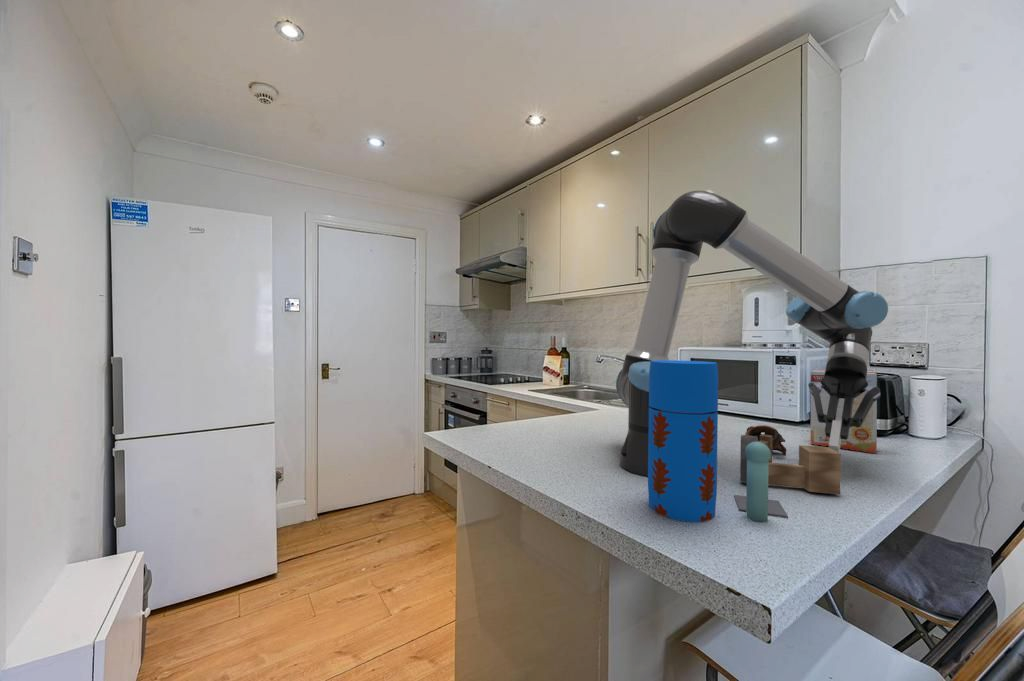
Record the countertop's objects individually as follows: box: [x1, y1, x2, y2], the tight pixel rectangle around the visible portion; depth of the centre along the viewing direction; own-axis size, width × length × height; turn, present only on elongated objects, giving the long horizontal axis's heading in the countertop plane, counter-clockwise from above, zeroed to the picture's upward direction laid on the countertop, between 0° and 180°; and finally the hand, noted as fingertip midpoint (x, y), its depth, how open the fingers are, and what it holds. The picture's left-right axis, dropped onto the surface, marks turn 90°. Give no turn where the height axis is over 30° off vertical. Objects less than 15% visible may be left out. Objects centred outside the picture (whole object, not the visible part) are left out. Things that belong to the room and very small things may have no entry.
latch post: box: [745, 442, 771, 523], centre depth 67 cm, size 4×4×12 cm
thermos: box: [647, 359, 719, 523], centre depth 70 cm, size 11×11×25 cm
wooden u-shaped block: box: [739, 434, 842, 495], centre depth 81 cm, size 16×5×9 cm, turn 74°
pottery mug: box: [744, 424, 787, 456], centre depth 106 cm, size 12×10×8 cm
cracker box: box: [810, 369, 878, 454], centre depth 113 cm, size 14×6×21 cm, turn 49°
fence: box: [758, 433, 773, 463], centre depth 88 cm, size 2×10×8 cm, turn 134°
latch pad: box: [733, 494, 789, 519], centre depth 71 cm, size 7×7×1 cm
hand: (834, 449), depth 85 cm, fingers closed
